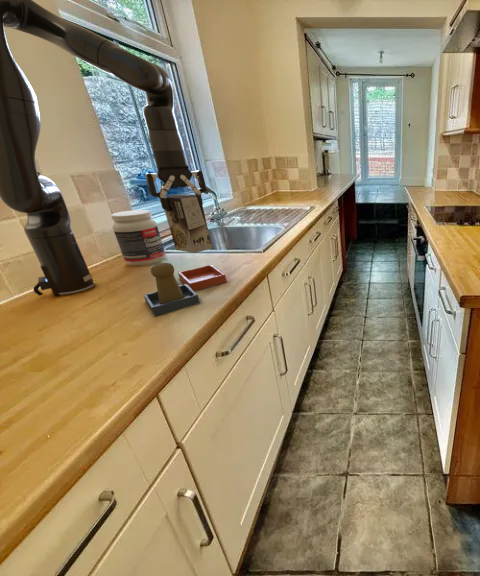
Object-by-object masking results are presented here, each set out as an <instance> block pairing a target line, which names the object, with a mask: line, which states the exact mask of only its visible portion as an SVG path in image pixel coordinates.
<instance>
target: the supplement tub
mask: <svg viewBox="0 0 480 576" xmlns="http://www.w3.org/2000/svg"><path fill="white" fill-rule="evenodd" d="M110 216H111V221H113V223H112V231H113V232H114V235H115V238H116V241H117V244H118V247H119V249H120V252H121V254H122V257H123V260H124V263H125V264H126V265H129V266H130V267H144V266H152V265H155V264H158V263H162V261H164V260H166V258H167V254H166V251H165V248H164V243H163V241H162V237H161V234H160V230H159V228H158V224H157V221H156V220H155V219H153V218H152V217H153V214H152V212H151V210H149V209H148V210H147V209H135V210H133V209H132V210H125V211H124V210H123V211H117V212H114V213H112V214H111V215H110Z"/></svg>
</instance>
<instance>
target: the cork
mask: <svg viewBox="0 0 480 576" xmlns="http://www.w3.org/2000/svg"><path fill="white" fill-rule="evenodd" d="M150 273H151V275H152V276H153V277H154V278H155V284H156V290H157V291H158V297H159V303H160V305H161V304H164V303H168V302H172V301H175V300H179V299H182V298H185V297H184V295H183V293H182V291H181V289H180V287H179V286H180V285H179V283H178V281H177V279H176V276H175V274H174V273H175V267H174V265H173V264H172V263H171V262H167V261H166V262H165V261H164V262H158V263H155V264H152V265H151V267H150ZM157 291H156V292H157Z"/></svg>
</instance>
